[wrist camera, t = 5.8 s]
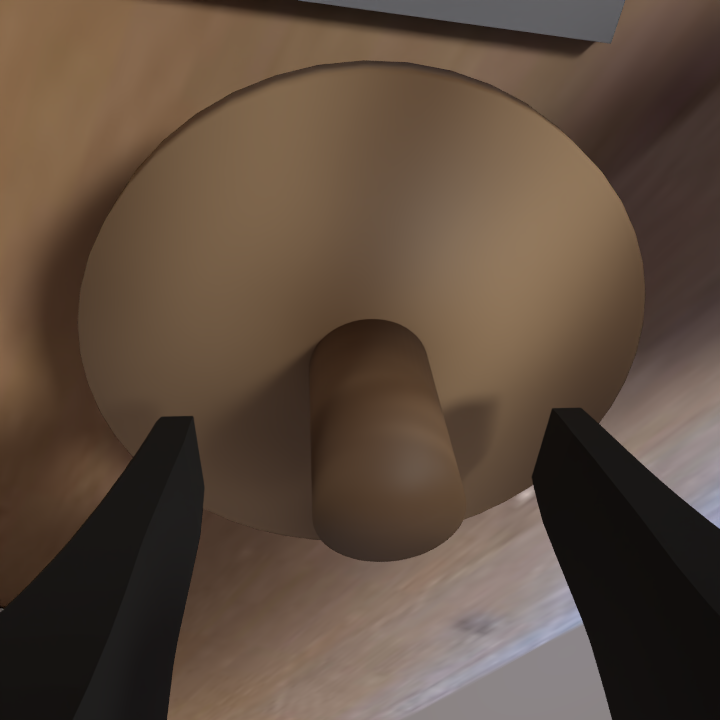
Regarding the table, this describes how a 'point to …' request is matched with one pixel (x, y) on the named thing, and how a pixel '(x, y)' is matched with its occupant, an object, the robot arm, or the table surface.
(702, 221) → the table surface
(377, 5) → the mat
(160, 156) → the lid
